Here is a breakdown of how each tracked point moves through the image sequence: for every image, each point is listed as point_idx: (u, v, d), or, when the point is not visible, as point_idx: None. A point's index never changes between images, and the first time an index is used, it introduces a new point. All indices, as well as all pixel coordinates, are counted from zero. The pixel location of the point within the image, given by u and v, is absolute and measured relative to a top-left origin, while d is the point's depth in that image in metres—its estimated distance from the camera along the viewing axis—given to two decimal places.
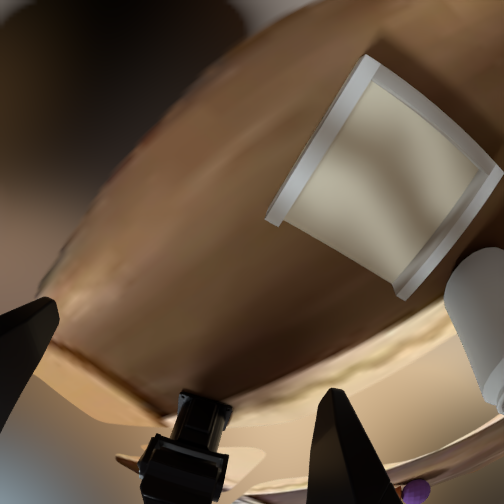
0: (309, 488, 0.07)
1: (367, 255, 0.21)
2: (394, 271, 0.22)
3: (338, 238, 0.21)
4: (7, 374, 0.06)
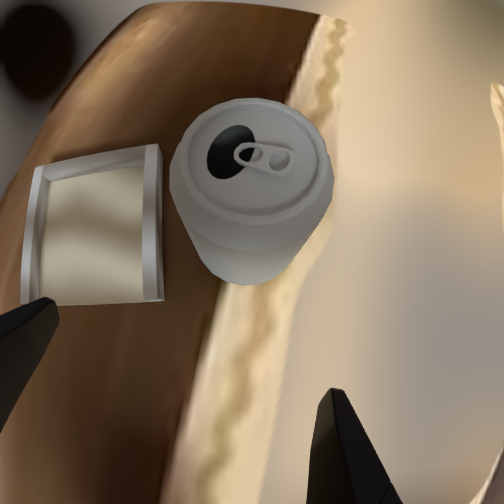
0: (309, 488, 0.07)
1: (108, 291, 0.22)
2: (141, 288, 0.22)
3: (79, 292, 0.21)
4: (7, 374, 0.06)
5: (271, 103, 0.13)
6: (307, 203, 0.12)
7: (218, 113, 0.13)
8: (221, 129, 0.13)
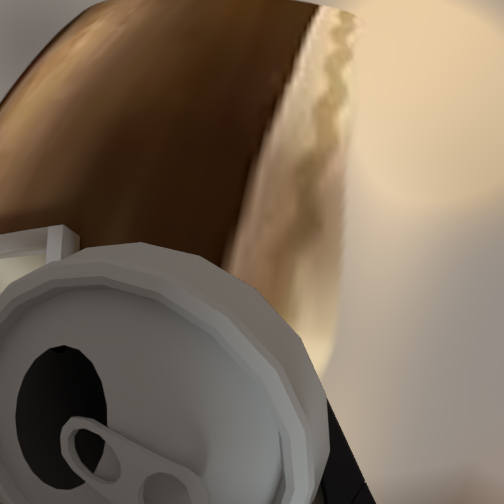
0: None
1: None
2: None
3: None
4: None
5: (141, 285, 0.04)
6: None
7: (17, 310, 0.04)
8: (30, 355, 0.04)
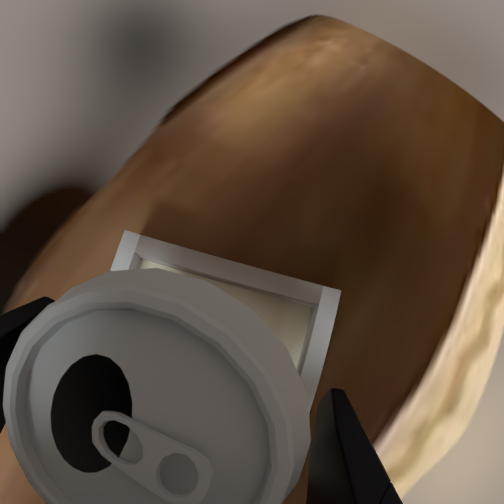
0: (309, 488, 0.07)
1: None
2: None
3: None
4: None
5: (162, 310, 0.05)
6: None
7: (56, 325, 0.05)
8: (66, 362, 0.05)
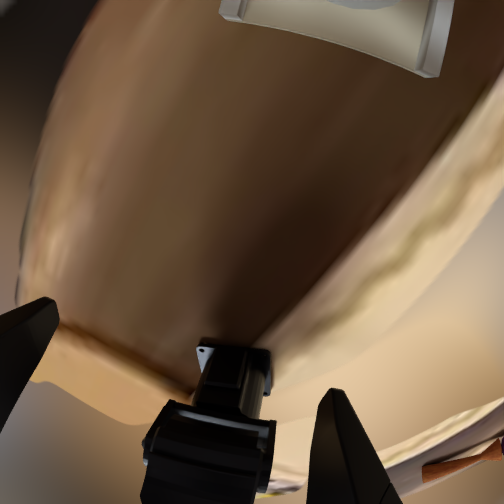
0: (309, 488, 0.07)
1: (364, 36, 0.13)
2: (408, 53, 0.13)
3: (319, 23, 0.13)
4: (7, 374, 0.06)
5: None
6: None
7: None
8: None
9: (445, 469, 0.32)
